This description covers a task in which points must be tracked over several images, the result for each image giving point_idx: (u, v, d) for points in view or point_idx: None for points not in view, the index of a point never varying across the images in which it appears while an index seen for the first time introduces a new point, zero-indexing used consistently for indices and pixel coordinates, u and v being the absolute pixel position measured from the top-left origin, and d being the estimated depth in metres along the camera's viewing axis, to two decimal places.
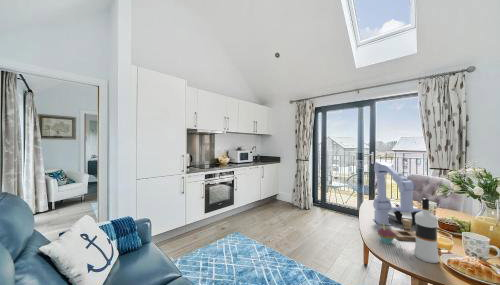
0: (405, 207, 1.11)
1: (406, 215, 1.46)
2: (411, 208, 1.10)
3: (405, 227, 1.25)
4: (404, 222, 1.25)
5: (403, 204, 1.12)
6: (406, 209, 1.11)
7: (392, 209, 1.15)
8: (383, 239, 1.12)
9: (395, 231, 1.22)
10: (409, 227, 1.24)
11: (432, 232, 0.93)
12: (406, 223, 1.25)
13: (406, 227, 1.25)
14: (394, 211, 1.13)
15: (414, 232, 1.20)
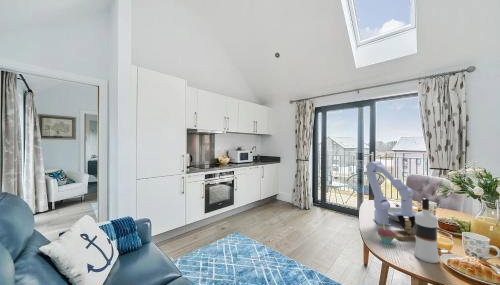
0: (405, 212, 1.24)
1: None
2: (411, 213, 1.23)
3: (405, 227, 1.25)
4: None
5: (404, 209, 1.25)
6: (406, 214, 1.24)
7: (394, 214, 1.28)
8: (383, 239, 1.12)
9: (395, 231, 1.22)
10: (409, 227, 1.24)
11: (432, 232, 0.93)
12: (406, 223, 1.25)
13: (406, 227, 1.25)
14: (395, 215, 1.26)
15: (414, 232, 1.20)
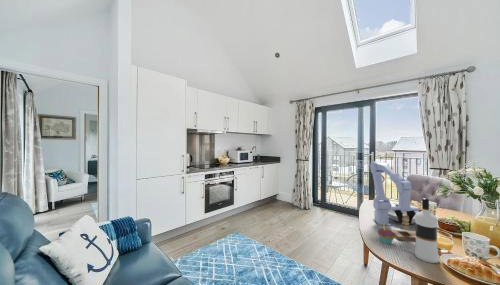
0: (403, 206, 1.17)
1: None
2: (409, 207, 1.16)
3: (402, 223, 1.18)
4: None
5: (401, 203, 1.18)
6: (404, 208, 1.16)
7: (391, 208, 1.20)
8: (383, 239, 1.12)
9: (395, 231, 1.22)
10: (407, 223, 1.17)
11: (432, 232, 0.93)
12: (403, 218, 1.17)
13: (403, 223, 1.17)
14: (392, 210, 1.19)
15: (414, 232, 1.20)
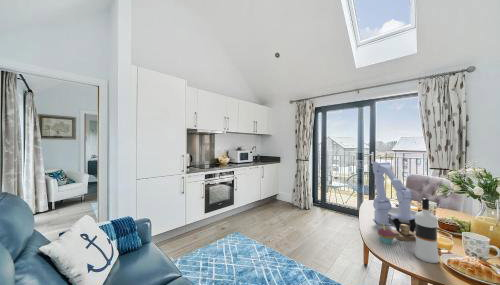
0: (403, 215, 1.17)
1: None
2: (409, 216, 1.16)
3: (403, 232, 1.18)
4: (402, 227, 1.18)
5: (401, 212, 1.18)
6: (404, 217, 1.16)
7: (391, 217, 1.20)
8: (383, 239, 1.12)
9: (395, 231, 1.22)
10: (407, 233, 1.17)
11: (432, 232, 0.93)
12: (403, 228, 1.17)
13: (404, 232, 1.17)
14: (393, 218, 1.19)
15: (414, 232, 1.20)
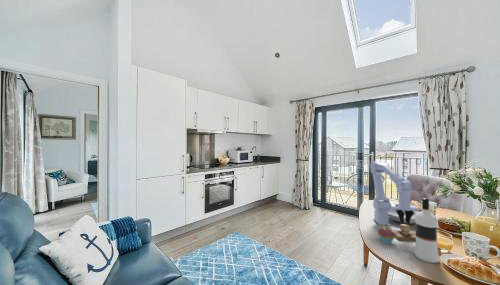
0: (403, 206, 1.17)
1: None
2: (409, 207, 1.16)
3: (403, 232, 1.18)
4: (402, 227, 1.18)
5: (401, 203, 1.18)
6: (404, 208, 1.16)
7: (391, 208, 1.20)
8: (383, 239, 1.12)
9: (395, 231, 1.22)
10: (407, 233, 1.17)
11: (432, 232, 0.93)
12: (403, 228, 1.17)
13: (404, 232, 1.17)
14: (392, 210, 1.19)
15: (414, 232, 1.20)
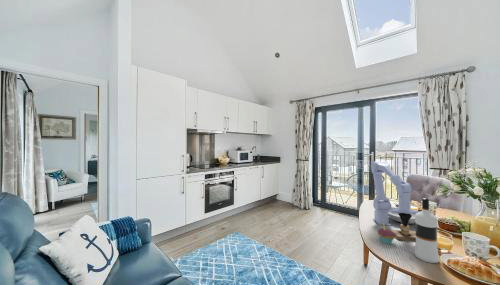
0: (403, 209, 1.17)
1: None
2: (409, 210, 1.16)
3: (403, 232, 1.18)
4: (402, 227, 1.18)
5: (401, 206, 1.18)
6: (404, 211, 1.16)
7: (391, 211, 1.20)
8: (383, 239, 1.12)
9: (395, 231, 1.22)
10: (407, 233, 1.17)
11: (432, 232, 0.93)
12: (403, 228, 1.17)
13: (404, 232, 1.17)
14: (392, 212, 1.19)
15: (414, 232, 1.20)
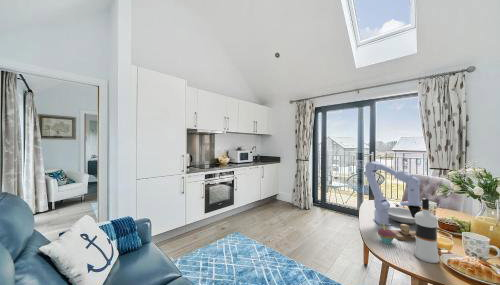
0: (412, 201, 1.22)
1: (406, 215, 1.46)
2: (418, 202, 1.21)
3: (403, 232, 1.18)
4: (402, 227, 1.18)
5: (411, 199, 1.22)
6: (413, 203, 1.21)
7: (400, 203, 1.25)
8: (383, 239, 1.12)
9: (395, 231, 1.22)
10: (407, 233, 1.17)
11: (432, 232, 0.93)
12: (403, 228, 1.17)
13: (404, 232, 1.17)
14: (402, 205, 1.24)
15: (414, 232, 1.20)
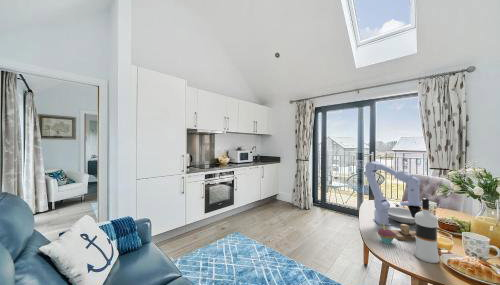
0: (412, 201, 1.22)
1: (406, 215, 1.46)
2: (418, 202, 1.21)
3: (403, 232, 1.18)
4: (402, 227, 1.18)
5: (411, 199, 1.22)
6: (413, 203, 1.21)
7: (400, 203, 1.25)
8: (383, 239, 1.12)
9: (395, 231, 1.22)
10: (407, 233, 1.17)
11: (432, 232, 0.93)
12: (403, 228, 1.17)
13: (404, 232, 1.17)
14: (402, 205, 1.24)
15: (414, 232, 1.20)
